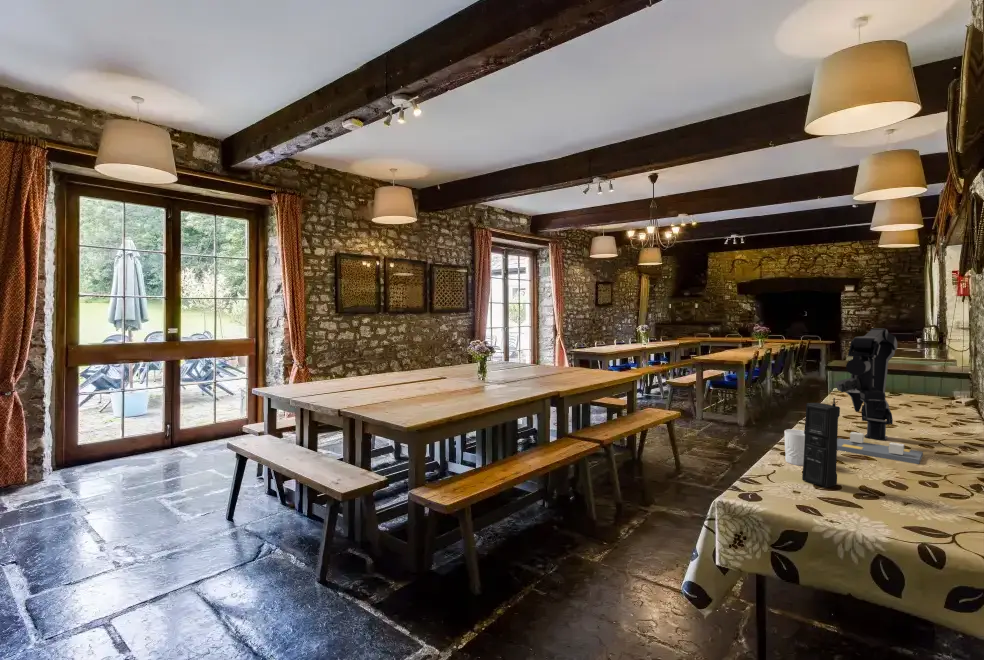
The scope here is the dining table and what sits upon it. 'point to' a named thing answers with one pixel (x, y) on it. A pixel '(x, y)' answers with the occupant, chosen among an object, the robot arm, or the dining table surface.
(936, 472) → the dining table surface
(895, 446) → the slider
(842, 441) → the switch panel
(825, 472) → the portable radio
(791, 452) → the white cup
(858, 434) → the slider
